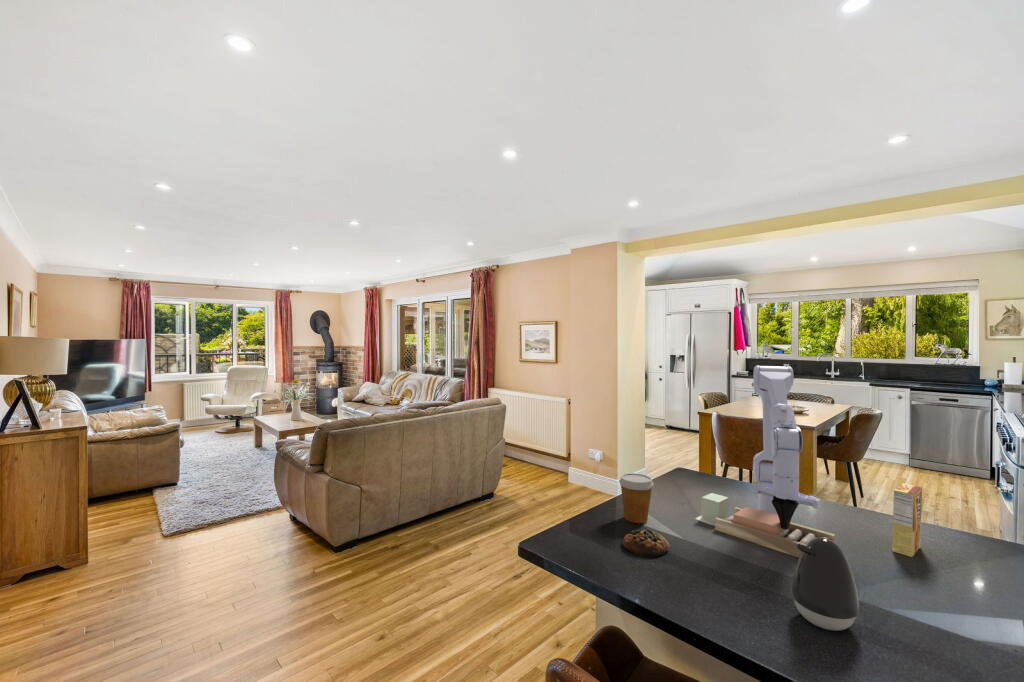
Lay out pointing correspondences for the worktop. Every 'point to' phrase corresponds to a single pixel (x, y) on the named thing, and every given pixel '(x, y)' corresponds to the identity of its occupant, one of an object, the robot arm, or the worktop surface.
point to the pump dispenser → (825, 586)
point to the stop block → (714, 507)
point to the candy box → (907, 519)
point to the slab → (758, 520)
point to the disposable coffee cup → (636, 496)
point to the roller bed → (767, 539)
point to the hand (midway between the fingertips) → (785, 528)
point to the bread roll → (646, 543)
